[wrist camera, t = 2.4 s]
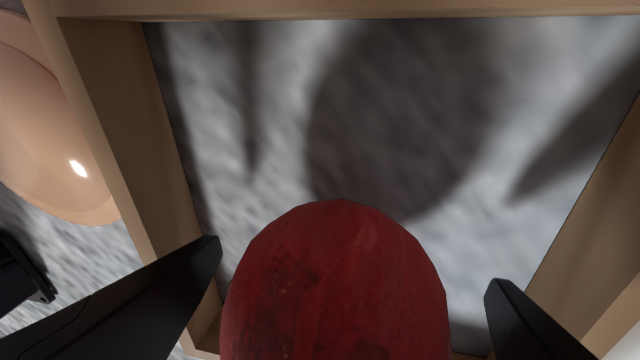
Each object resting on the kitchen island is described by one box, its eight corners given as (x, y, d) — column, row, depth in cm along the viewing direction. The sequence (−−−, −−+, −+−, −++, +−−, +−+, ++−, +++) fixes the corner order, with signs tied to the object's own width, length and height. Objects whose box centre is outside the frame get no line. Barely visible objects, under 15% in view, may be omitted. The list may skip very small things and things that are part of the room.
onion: (259, 172, 10) (-8, 465, 3) (415, 143, 8) (586, 678, 1) (305, 278, 12) (209, 576, 6) (433, 274, 11) (527, 707, 4)
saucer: (30, 205, 14) (9, 215, 13) (-98, 10, 10) (-140, 8, 9) (173, 226, 13) (158, 239, 12) (95, 4, 8) (63, 0, 7)
